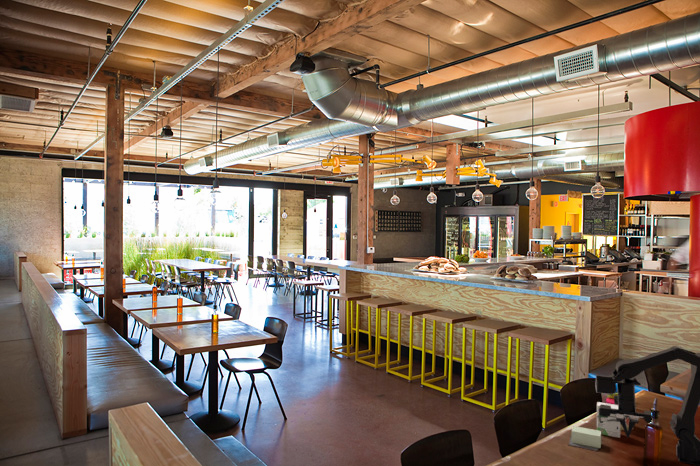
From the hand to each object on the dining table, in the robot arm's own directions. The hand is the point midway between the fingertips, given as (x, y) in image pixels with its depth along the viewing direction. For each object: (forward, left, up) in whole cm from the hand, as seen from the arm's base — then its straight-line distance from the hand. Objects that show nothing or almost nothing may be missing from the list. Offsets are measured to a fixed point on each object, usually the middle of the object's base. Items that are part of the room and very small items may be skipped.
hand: (628, 436), depth 173 cm
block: (+9, 0, -3) cm, 10 cm away
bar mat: (+15, 0, -6) cm, 16 cm away
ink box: (+7, -15, -6) cm, 18 cm away
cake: (+3, -27, -6) cm, 28 cm away
